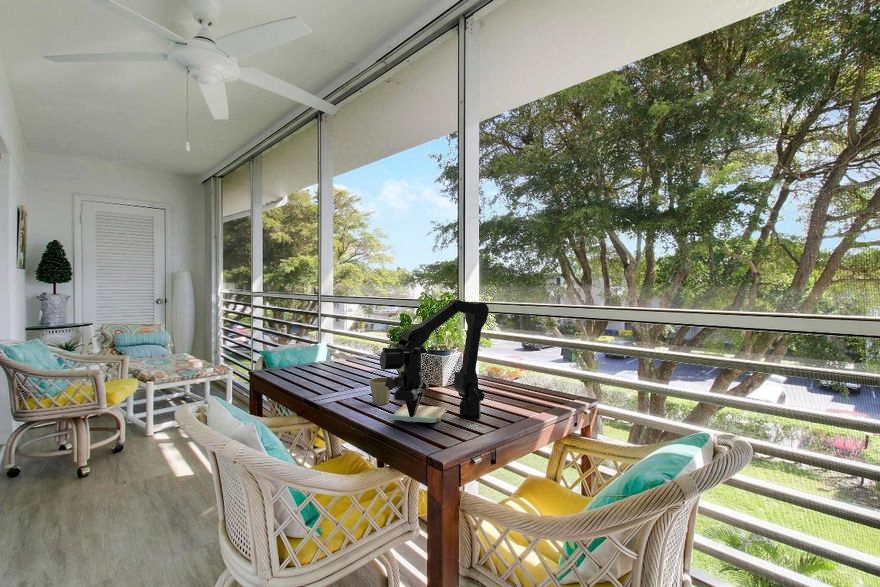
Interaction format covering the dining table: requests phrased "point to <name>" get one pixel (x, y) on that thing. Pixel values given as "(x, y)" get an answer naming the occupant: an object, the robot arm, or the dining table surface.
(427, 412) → the beige flat block
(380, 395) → the flower pot
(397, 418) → the panel
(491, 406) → the dining table surface
